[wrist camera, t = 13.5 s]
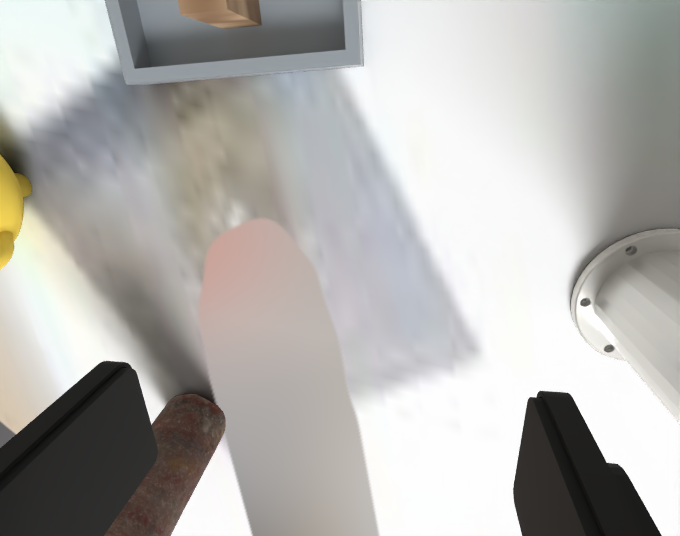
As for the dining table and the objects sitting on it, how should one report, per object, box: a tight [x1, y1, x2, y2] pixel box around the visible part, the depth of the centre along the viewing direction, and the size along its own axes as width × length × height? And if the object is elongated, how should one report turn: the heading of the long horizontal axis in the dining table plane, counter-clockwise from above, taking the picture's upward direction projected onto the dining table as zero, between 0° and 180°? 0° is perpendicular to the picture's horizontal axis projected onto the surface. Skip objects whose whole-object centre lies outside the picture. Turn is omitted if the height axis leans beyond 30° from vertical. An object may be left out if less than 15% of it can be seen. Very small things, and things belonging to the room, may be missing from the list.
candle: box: [104, 394, 225, 536], centre depth 39 cm, size 8×7×20 cm
